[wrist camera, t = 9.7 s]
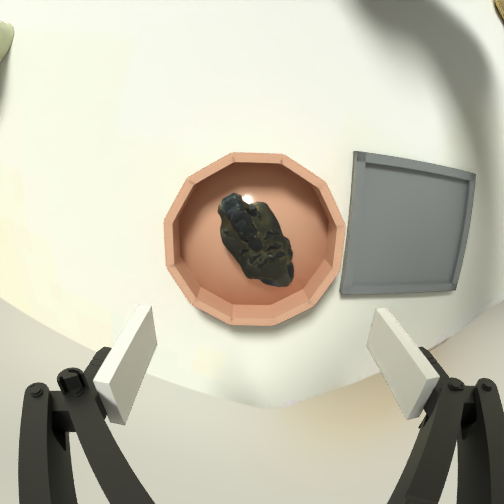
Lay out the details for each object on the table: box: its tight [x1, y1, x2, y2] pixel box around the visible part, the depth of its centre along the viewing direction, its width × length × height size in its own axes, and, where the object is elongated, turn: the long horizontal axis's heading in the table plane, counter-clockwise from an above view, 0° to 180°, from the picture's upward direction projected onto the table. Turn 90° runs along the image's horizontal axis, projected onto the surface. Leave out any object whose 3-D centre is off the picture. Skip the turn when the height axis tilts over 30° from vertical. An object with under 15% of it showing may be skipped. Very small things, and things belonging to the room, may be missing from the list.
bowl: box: [164, 152, 346, 326], centre depth 34 cm, size 20×20×4 cm
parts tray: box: [339, 151, 476, 295], centre depth 36 cm, size 18×20×1 cm
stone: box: [217, 193, 294, 287], centre depth 33 cm, size 7×13×5 cm, turn 32°
